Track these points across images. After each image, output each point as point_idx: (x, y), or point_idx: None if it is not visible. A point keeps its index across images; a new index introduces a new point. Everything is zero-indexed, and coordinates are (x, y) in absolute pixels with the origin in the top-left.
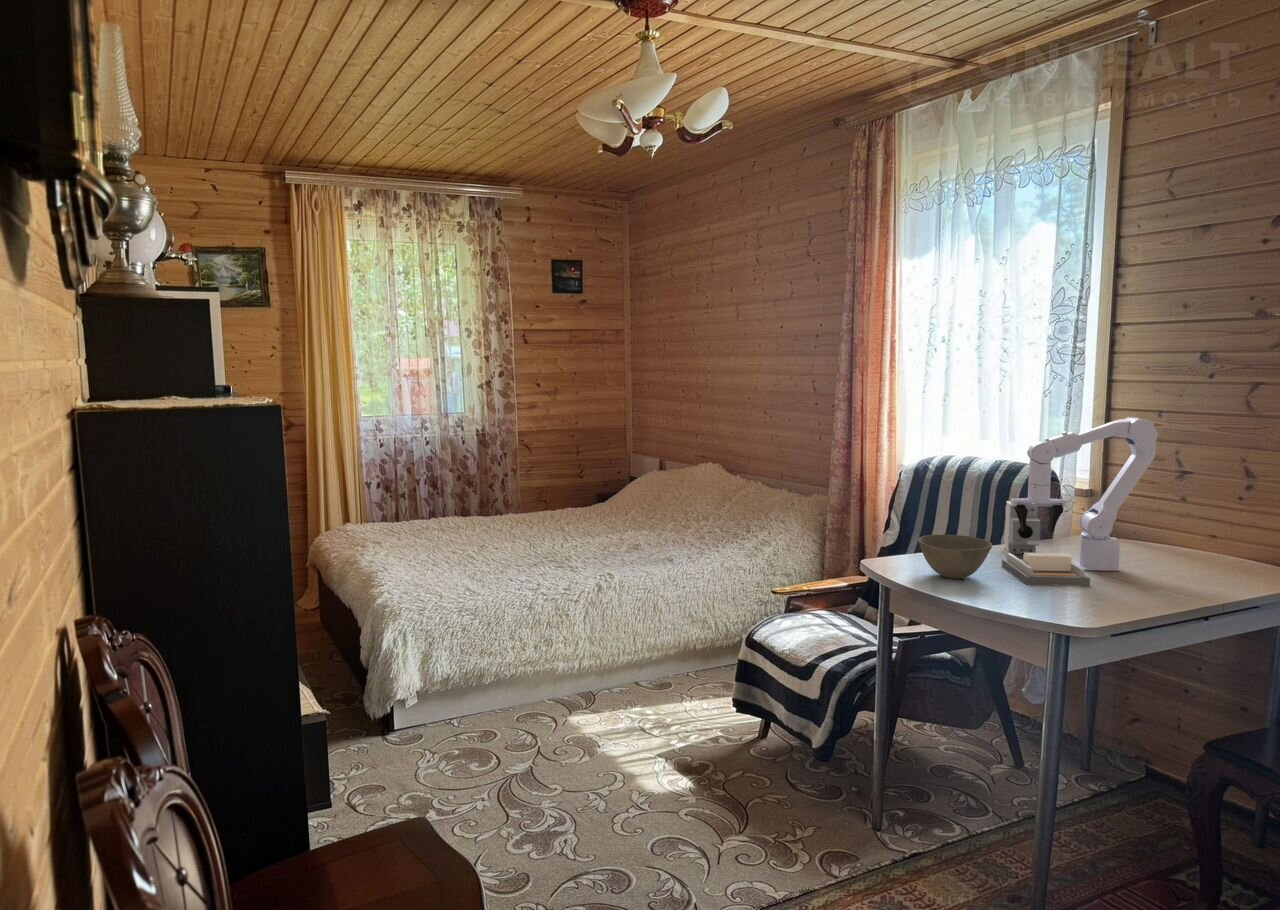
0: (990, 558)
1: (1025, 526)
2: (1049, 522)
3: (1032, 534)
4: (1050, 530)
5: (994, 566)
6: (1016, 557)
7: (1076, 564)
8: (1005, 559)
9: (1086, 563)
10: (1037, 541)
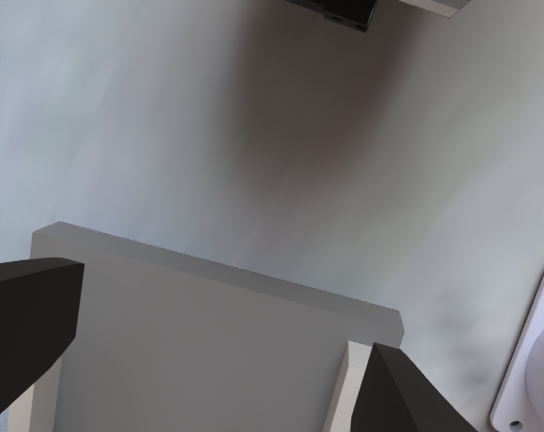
0: (76, 8)
1: (26, 380)
2: (387, 406)
3: (359, 27)
4: (358, 401)
5: (16, 223)
6: (28, 399)
7: (532, 312)
8: (48, 247)
9: (540, 417)
10: (438, 5)
